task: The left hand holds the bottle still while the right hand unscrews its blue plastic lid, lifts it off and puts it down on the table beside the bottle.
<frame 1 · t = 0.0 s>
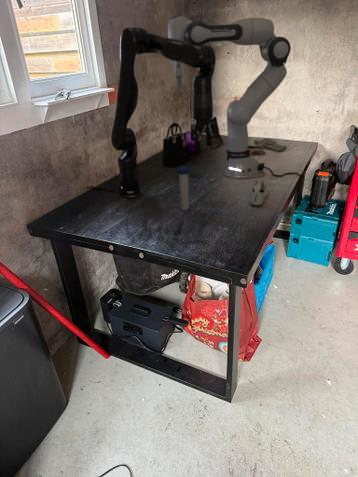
left hand: (203, 148, 134), 29 cm above the table, tool pointing down, fingers open, 8 cm apart
right hand: (179, 86, 168), 48 cm above the table, tool pointing down, fingers open, 8 cm apart
pair of gloves: (259, 149, 232), on the table
boot: (216, 144, 250), on the table
decorative orb: (190, 153, 234), on the table
lid: (183, 168, 144), point 19 cm above the table, screwed on, not yet turned
ballet flat: (258, 197, 160), on the table
handbag: (176, 162, 216), on the table
bottle: (185, 208, 154), on the table
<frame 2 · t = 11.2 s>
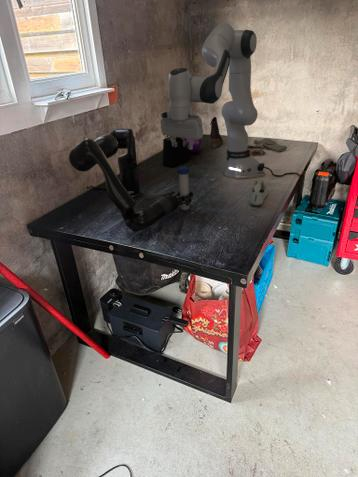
left hand: (187, 192, 152), 7 cm above the table, tool horizontal, fingers closed on bottle, 4 cm apart
right hand: (182, 147, 140), 28 cm above the table, tool pointing down, fingers open, 7 cm apart
bottle: (185, 208, 154), on the table, touching left hand
everything else where it was.
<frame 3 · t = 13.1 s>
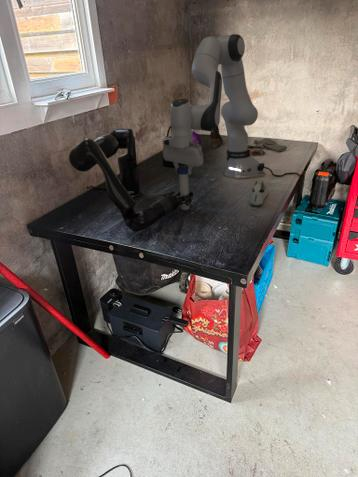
left hand: (188, 192, 152), 7 cm above the table, tool horizontal, fingers closed on bottle, 4 cm apart
right hand: (183, 172, 145), 17 cm above the table, tool pointing down, fingers closed on lid, 5 cm apart
lid: (183, 168, 144), point 19 cm above the table, screwed on, not yet turned, touching right hand
bottle: (185, 208, 154), on the table, touching left hand
everything else where it was.
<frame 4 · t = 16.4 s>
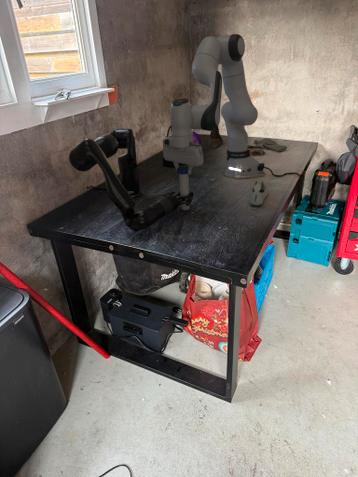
left hand: (188, 192, 152), 7 cm above the table, tool horizontal, fingers closed on bottle, 4 cm apart
right hand: (183, 172, 145), 17 cm above the table, tool pointing down, fingers closed on lid, 5 cm apart
lid: (183, 168, 144), point 19 cm above the table, turned 79° so far, risen 0.1 cm, still on its thread, touching right hand
bottle: (185, 208, 154), on the table, touching left hand
everything else where it was.
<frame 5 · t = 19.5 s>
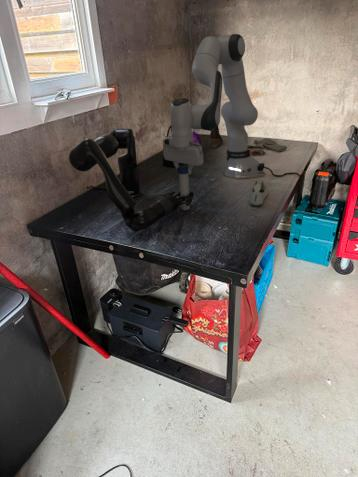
left hand: (188, 193, 152), 7 cm above the table, tool horizontal, fingers closed on bottle, 4 cm apart
right hand: (183, 172, 145), 17 cm above the table, tool pointing down, fingers closed on lid, 5 cm apart
lid: (183, 168, 144), point 19 cm above the table, turned 158° so far, risen 0.2 cm, still on its thread, touching right hand
bottle: (185, 208, 154), on the table, touching left hand
everything else where it was.
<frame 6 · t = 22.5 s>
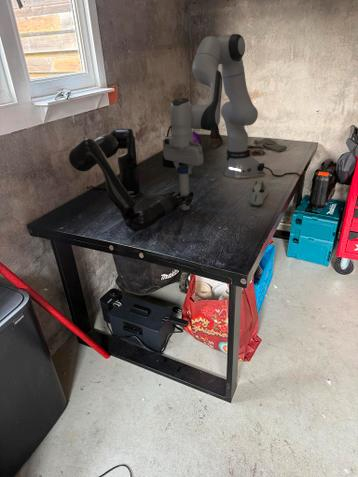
left hand: (188, 193, 152), 7 cm above the table, tool horizontal, fingers closed on bottle, 4 cm apart
right hand: (183, 172, 145), 17 cm above the table, tool pointing down, fingers closed on lid, 5 cm apart
lid: (183, 168, 144), point 19 cm above the table, turned 237° so far, risen 0.3 cm, still on its thread, touching right hand
bottle: (185, 208, 154), on the table, touching left hand
everything else where it was.
when the right hand's fingers open (2 cm above the table, at t = 34.6 s): lid drops 2 cm, point 2 cm above the table.
when the left hand's fingers open (7 cm above the table, at t = 35.7 s): bottle stays where it is, on the table.
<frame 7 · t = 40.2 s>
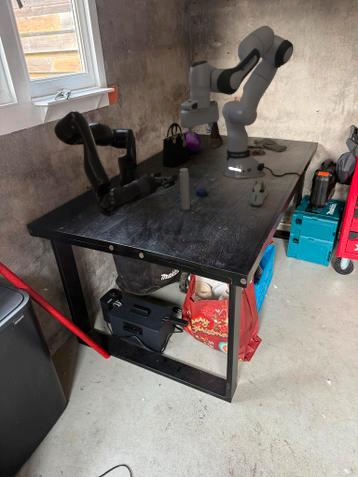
left hand: (168, 175, 137), 19 cm above the table, tool horizontal, fingers open, 8 cm apart
right hand: (200, 134, 152), 30 cm above the table, tool pointing down, fingers open, 8 cm apart
lid: (201, 191, 166), point 2 cm above the table, off its thread
bottle: (185, 208, 154), on the table
everything else where it was.
at the end: lid came off its thread; lid point 1.8 cm above the table; the left hand is holding nothing; the right hand is holding nothing; bottle tilted 0°; bottle moved 0.3 cm from its start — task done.
